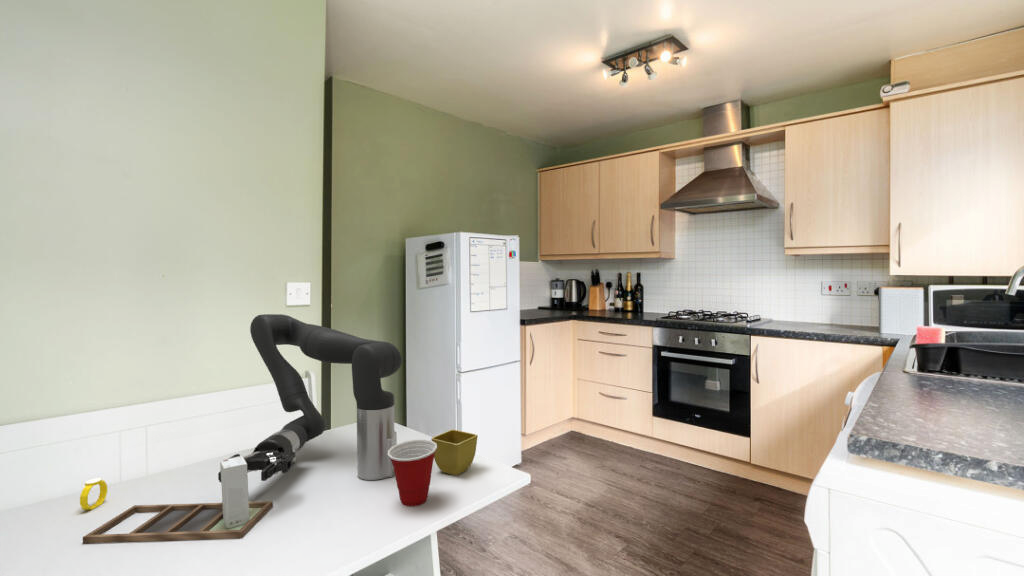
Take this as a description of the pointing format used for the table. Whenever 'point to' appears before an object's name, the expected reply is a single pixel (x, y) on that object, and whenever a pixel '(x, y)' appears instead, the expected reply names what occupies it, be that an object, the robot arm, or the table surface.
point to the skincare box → (235, 492)
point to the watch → (86, 490)
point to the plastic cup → (413, 469)
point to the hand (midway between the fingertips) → (241, 477)
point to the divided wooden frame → (179, 523)
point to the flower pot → (455, 451)
